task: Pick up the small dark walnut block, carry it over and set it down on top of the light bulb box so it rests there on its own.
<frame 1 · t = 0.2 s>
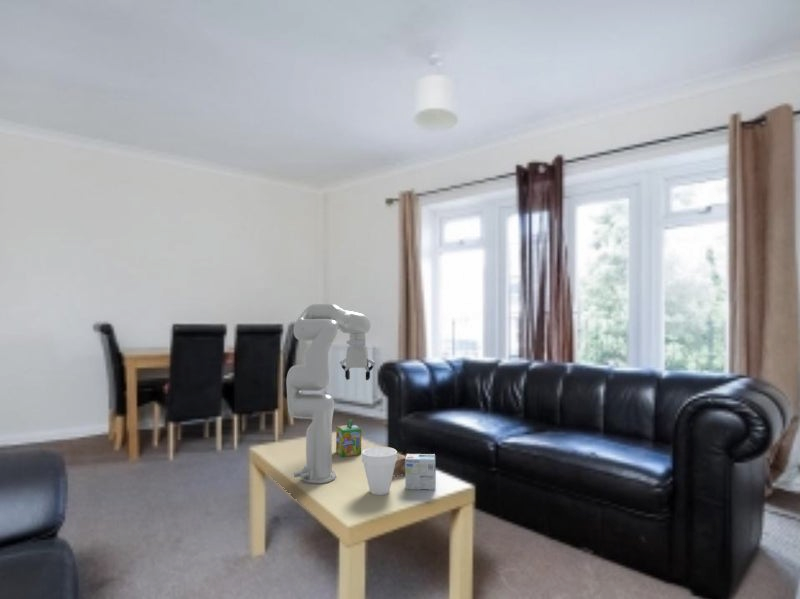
hand: (357, 379, 220), 31 cm above the table, tool pointing down, fingers open, 9 cm apart
chalk box: (348, 453, 207), on the table
walnut block: (397, 472, 181), on the table
cup: (379, 491, 162), on the table
light bulb box: (420, 487, 166), on the table
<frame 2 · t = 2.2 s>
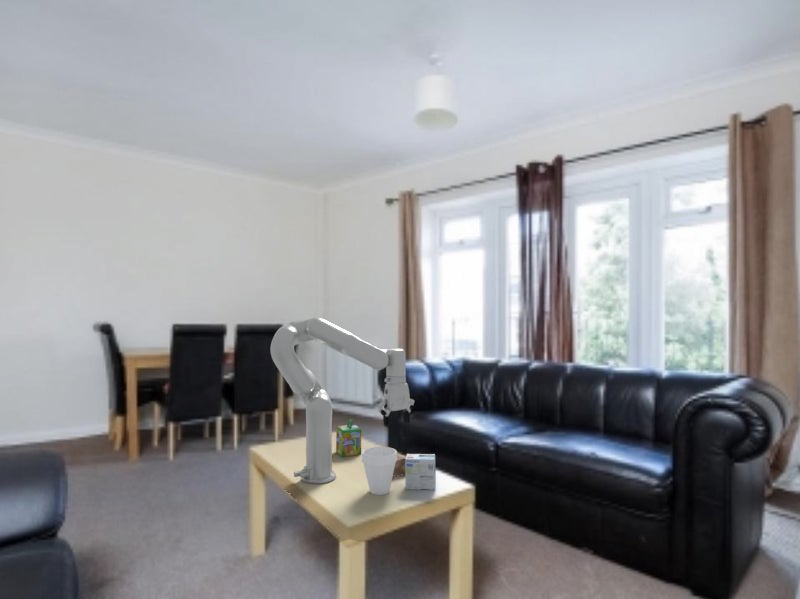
hand: (396, 424, 182), 19 cm above the table, tool pointing down, fingers open, 9 cm apart
nothing on the table moved.
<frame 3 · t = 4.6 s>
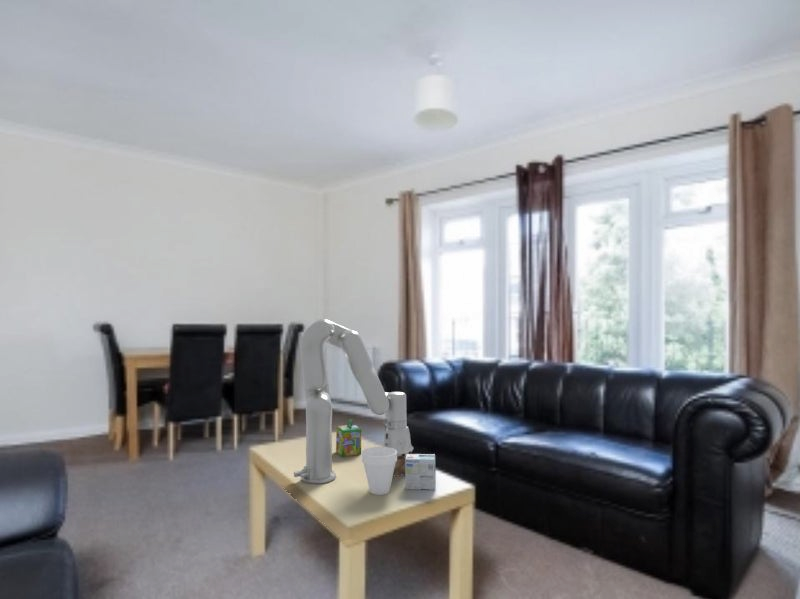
hand: (397, 470, 181), 1 cm above the table, tool pointing down, fingers closed on walnut block, 6 cm apart
walnut block: (397, 472, 181), on the table, touching gripper
everything else where it was.
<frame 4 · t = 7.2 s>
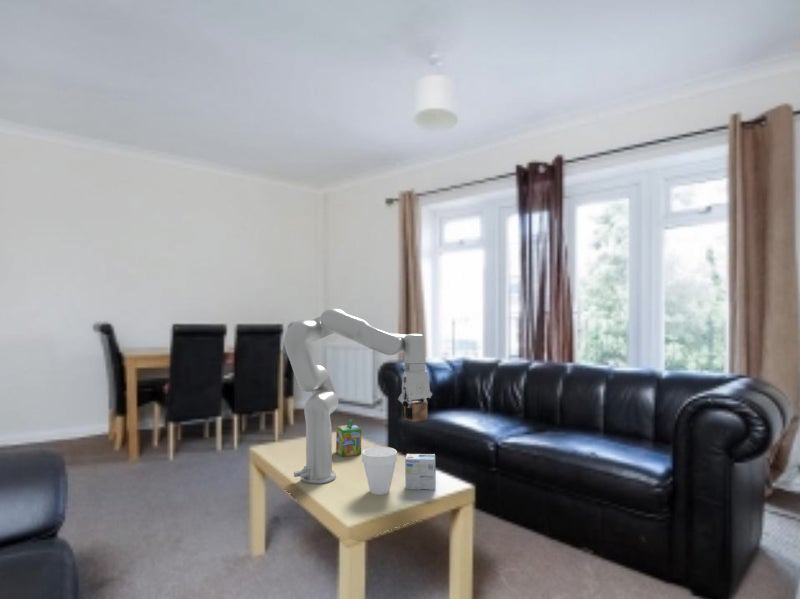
hand: (416, 416, 170), 24 cm above the table, tool pointing down, fingers closed on walnut block, 6 cm apart
walnut block: (416, 419, 170), point 23 cm above the table, touching gripper
everything else where it was.
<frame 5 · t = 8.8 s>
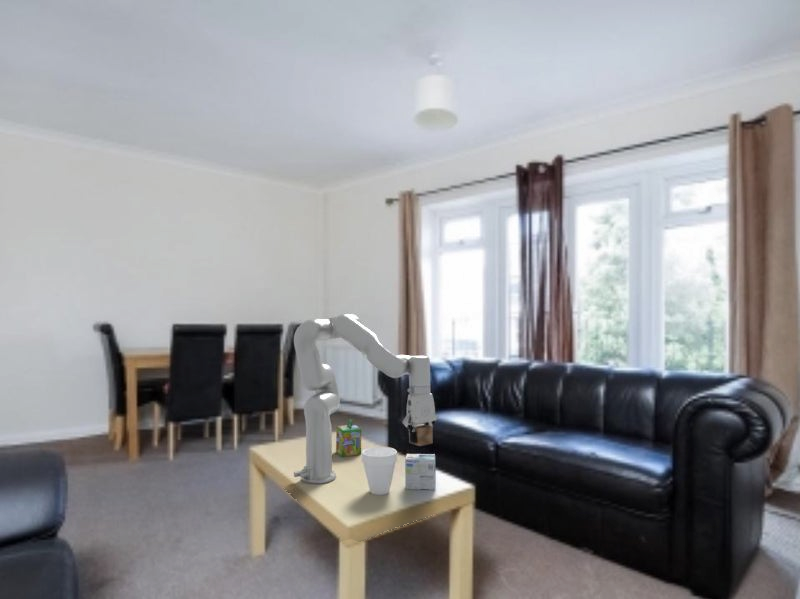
hand: (420, 440, 166), 16 cm above the table, tool pointing down, fingers closed on walnut block, 6 cm apart
walnut block: (420, 442, 166), point 15 cm above the table, touching gripper
everything else where it was.
when the fingers open (13 cm above the table, at t = 9.9 s): walnut block drops 1 cm, resting on light bulb box.
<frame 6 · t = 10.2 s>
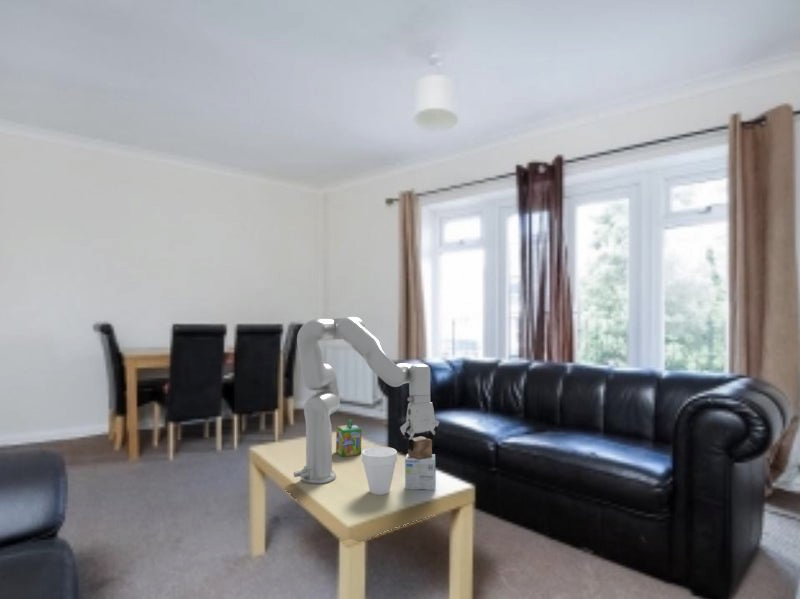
hand: (420, 447, 166), 14 cm above the table, tool pointing down, fingers open, 9 cm apart
walnut block: (420, 456, 166), point 11 cm above the table, touching light bulb box
light bulb box: (420, 487, 166), on the table, touching walnut block
everything else where it was.
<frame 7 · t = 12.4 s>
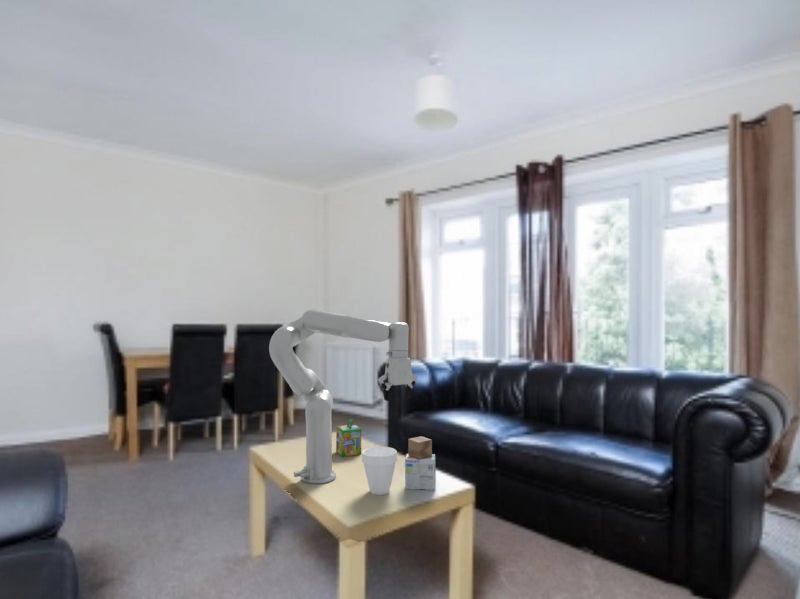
hand: (397, 399, 178), 29 cm above the table, tool pointing down, fingers open, 9 cm apart
nothing on the table moved.
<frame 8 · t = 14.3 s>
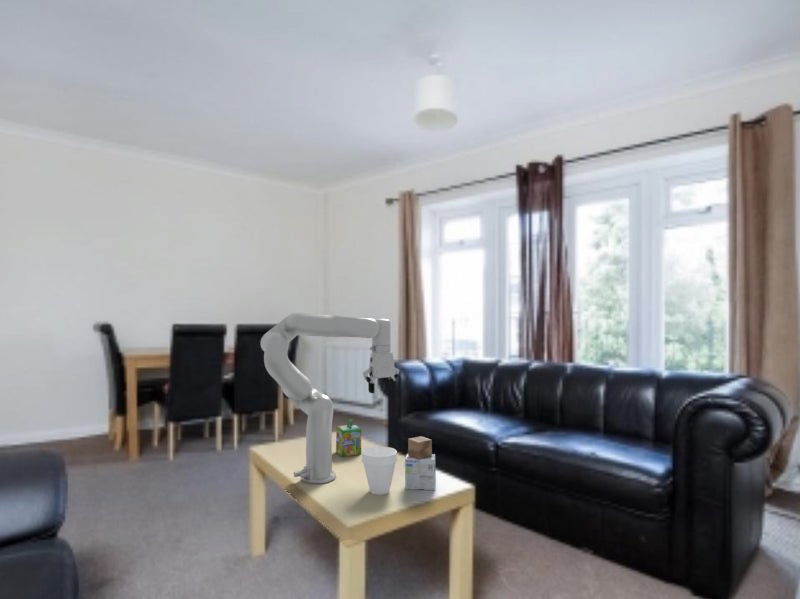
hand: (381, 391, 188), 30 cm above the table, tool pointing down, fingers open, 9 cm apart
nothing on the table moved.
at the end: walnut block inside the target area on the light bulb box (0.1 cm from its centre), point 11.0 cm above the light bulb box's base; walnut block touching light bulb box; walnut block tilted 0° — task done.
